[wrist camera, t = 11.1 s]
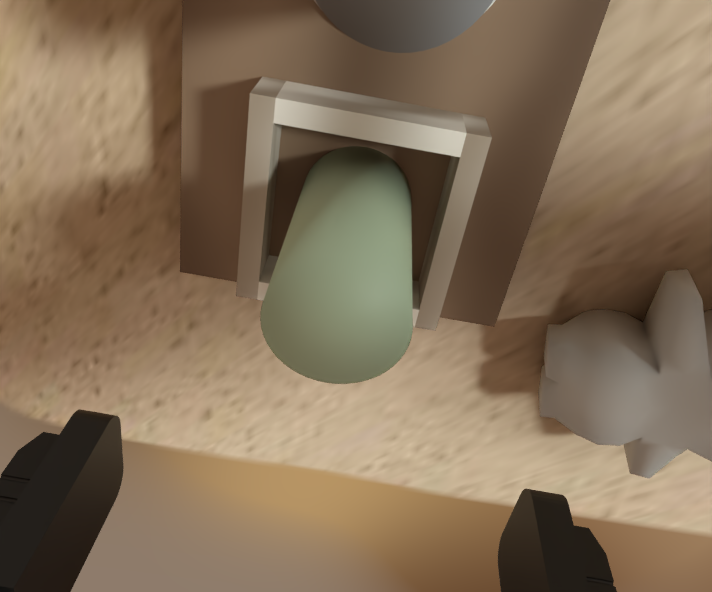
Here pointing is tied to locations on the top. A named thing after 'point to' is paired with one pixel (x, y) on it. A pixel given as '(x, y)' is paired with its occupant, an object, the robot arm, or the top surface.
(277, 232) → the board
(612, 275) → the top surface
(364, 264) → the green pin
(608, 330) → the bunny figurine
